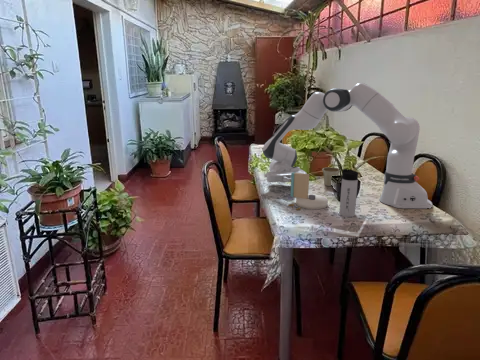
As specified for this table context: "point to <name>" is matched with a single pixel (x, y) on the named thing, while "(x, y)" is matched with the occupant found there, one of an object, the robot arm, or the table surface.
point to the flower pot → (329, 174)
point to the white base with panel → (305, 193)
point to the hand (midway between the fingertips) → (290, 180)
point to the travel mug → (348, 193)
